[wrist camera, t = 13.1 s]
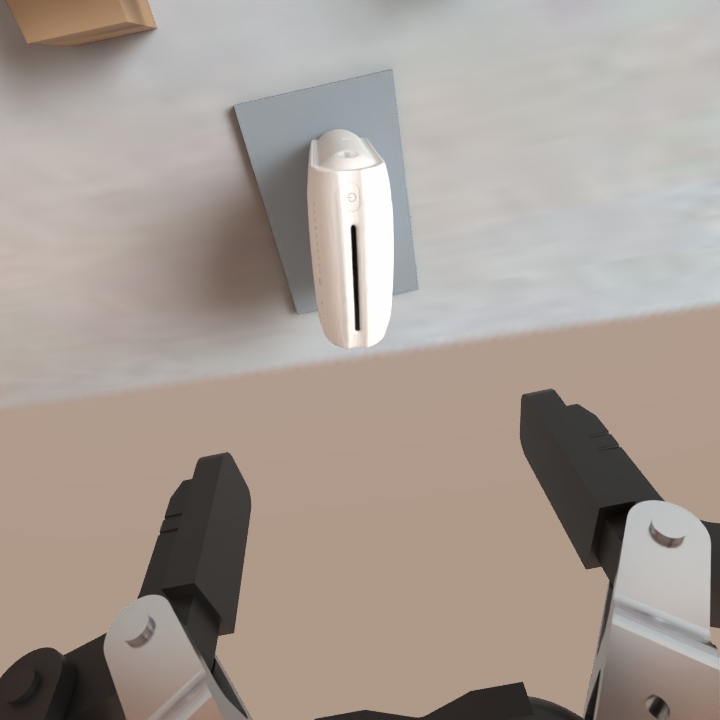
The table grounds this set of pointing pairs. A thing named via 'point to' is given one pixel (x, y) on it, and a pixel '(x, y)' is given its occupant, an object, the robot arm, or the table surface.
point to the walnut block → (79, 20)
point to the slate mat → (291, 157)
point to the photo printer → (350, 238)
